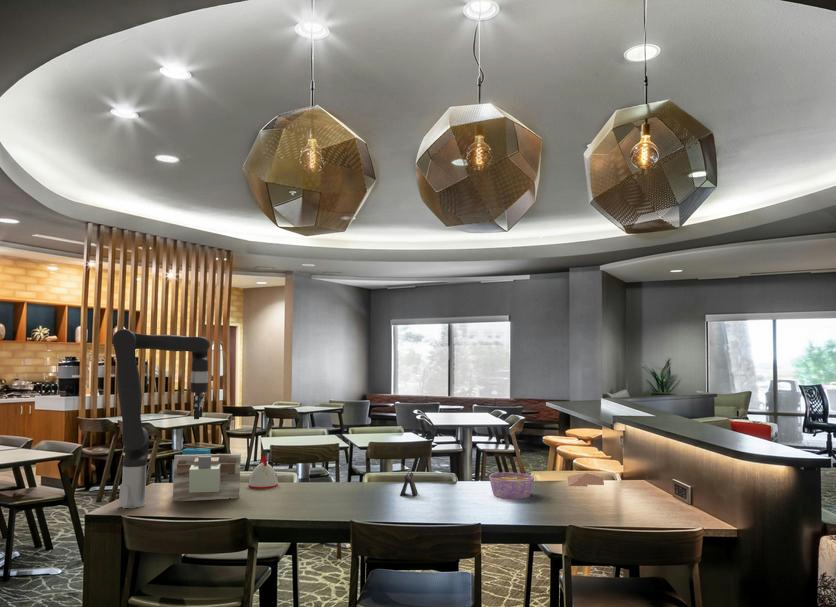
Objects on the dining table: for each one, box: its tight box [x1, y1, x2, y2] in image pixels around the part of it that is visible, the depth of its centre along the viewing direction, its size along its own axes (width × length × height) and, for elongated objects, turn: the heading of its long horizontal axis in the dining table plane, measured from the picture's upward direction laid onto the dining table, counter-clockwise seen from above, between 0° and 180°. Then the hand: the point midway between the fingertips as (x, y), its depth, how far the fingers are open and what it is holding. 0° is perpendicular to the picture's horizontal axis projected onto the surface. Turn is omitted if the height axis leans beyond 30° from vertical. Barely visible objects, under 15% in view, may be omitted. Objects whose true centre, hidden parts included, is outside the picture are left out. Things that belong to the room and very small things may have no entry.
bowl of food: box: [488, 472, 535, 500], centre depth 285 cm, size 20×20×12 cm
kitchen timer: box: [248, 455, 279, 490], centre depth 312 cm, size 14×14×15 cm
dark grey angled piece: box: [399, 472, 419, 497], centre depth 287 cm, size 9×6×12 cm, turn 81°
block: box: [181, 448, 211, 455], centre depth 297 cm, size 12×5×20 cm, turn 84°
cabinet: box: [189, 456, 220, 493], centre depth 277 cm, size 11×12×15 cm
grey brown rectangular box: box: [172, 453, 242, 502], centre depth 284 cm, size 13×28×20 cm, turn 101°
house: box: [567, 472, 605, 487], centre depth 314 cm, size 23×33×8 cm
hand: (198, 418), depth 285 cm, fingers open, 8 cm apart
